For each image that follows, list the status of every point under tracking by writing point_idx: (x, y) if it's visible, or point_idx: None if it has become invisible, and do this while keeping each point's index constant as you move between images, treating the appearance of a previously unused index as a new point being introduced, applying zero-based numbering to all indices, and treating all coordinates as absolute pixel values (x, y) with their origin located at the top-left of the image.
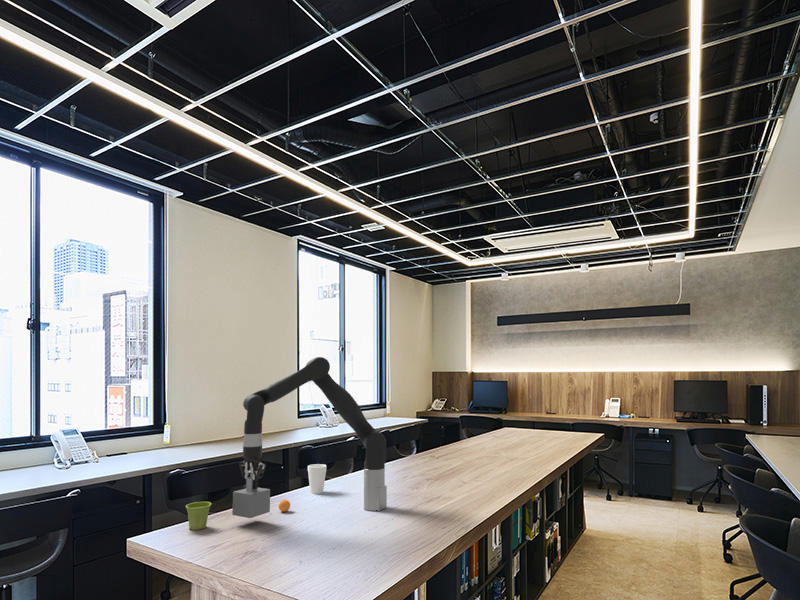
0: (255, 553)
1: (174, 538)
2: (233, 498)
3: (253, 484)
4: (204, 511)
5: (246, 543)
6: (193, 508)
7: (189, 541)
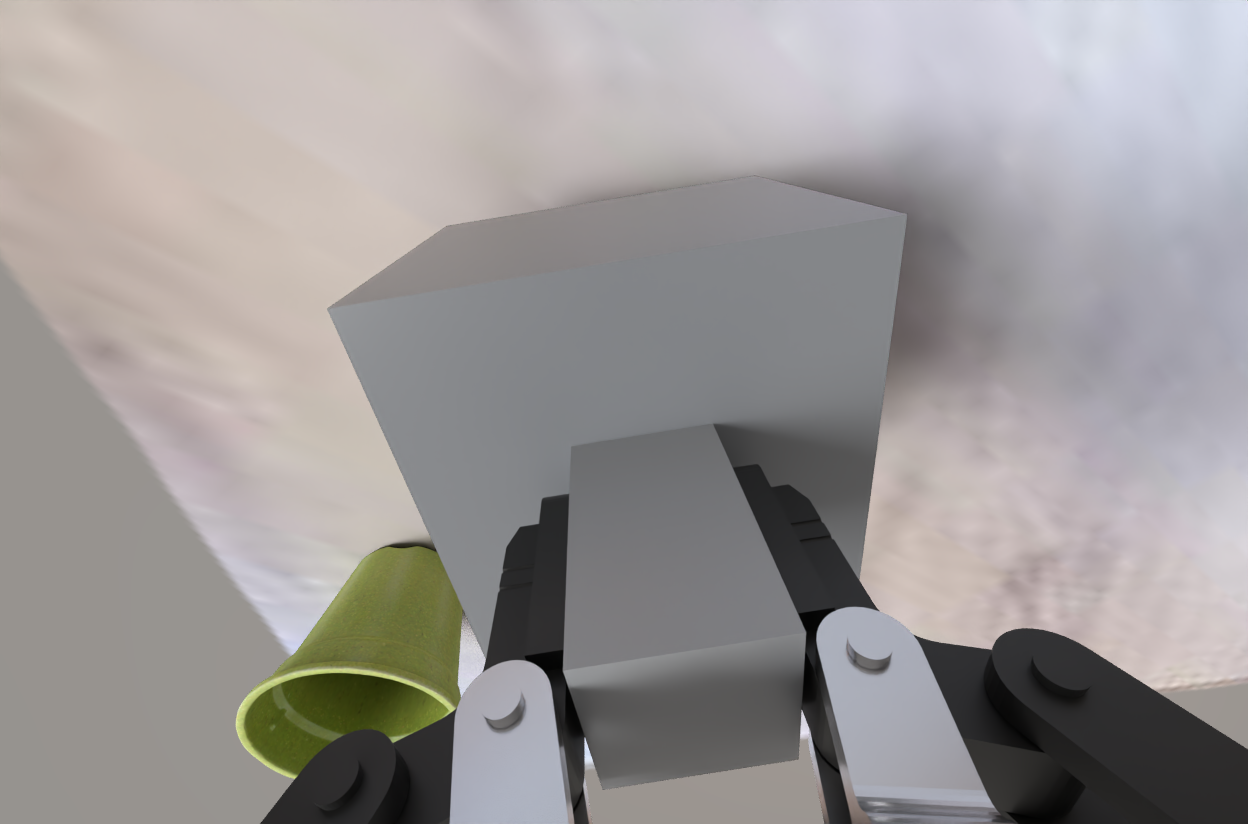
0: (1064, 568)
1: None
2: None
3: None
4: (455, 682)
5: (923, 533)
6: None
7: None
